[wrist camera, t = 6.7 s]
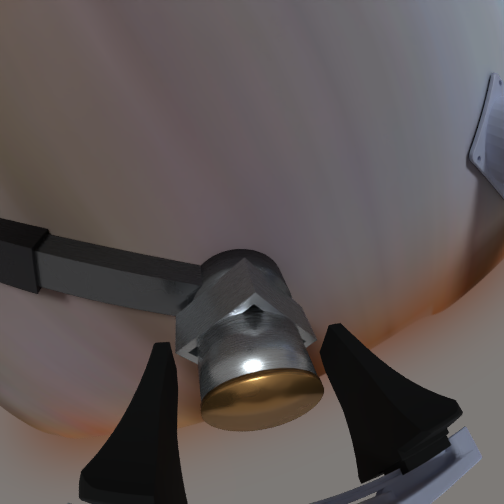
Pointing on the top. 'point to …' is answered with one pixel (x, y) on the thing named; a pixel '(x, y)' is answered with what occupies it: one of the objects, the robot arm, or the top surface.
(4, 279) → the ratchet
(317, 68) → the top surface
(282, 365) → the socket
